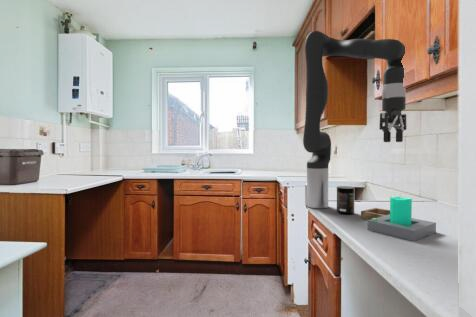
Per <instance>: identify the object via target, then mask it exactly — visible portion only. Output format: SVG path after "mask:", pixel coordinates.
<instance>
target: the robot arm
mask: <svg viewBox="0 0 476 317" xmlns="http://www.w3.org/2000/svg"><path fill="white" fill-rule="evenodd" d="M404 45H405V44H404V43H403V42H401V41H400V40H397V39H394V38H383V39H371V38H370V39H369V38H353V39H346V40H345V39H337V38H333V37H331V36H328V35H327V34H325V33H323V32H322V31H319V30H312V31H311V32H309V33H308V34H307V36H306V38H305V42H304V54H305V65H306V66H305V67H306V68H305V69H306V74H305V78H306V79H305V83H306V84H305V118H304V119H305V120H304V129H303V138H302V140H303V141H302V143H303V148H304V150H306V152H308V153H312V154H311V155H312V156H311V158H310V159H309V160H307V162H306V183H305V185H304V206H306V207H308V208H311V209H326V208H329V164H330V162H331V155H332V154H331V152H332V141H331V140H332V139H331V137H330V135H329V133H327V132H325V131H321V118H322V116H323V113H324V111H325V109H326V106H327V104H328V100H329V98H328V96H329V84H328V79H327V76H326V73H325V69H324V65H323V57H333V56H335V57H337V56H338V57H339V56H340V57H349V58H355V59H363V60H374V59H380V60H386V69H385V70H384V71H383V75H382V80H383V81H382V90H381V92H382V94H381V96H382V97H381V110H382V112H380V113H379V130H382V133H383V143H391V140H392V139H391V137H392V136H391V134H392V132H391V130H392V128H394V129H395V142H396V143H402V142H403V141H404V140H403V139H404V137H403V136H404V132H405V131H406V130H407V114H406V113H404V114H402V111H405V110H406V106H407V105H406V98H407V97H406V96H407V95H406V91H407V89H406V87H405V88H404V87H403V78H404V68H403V65H402V63H401V60H402V58H403V56H404V54H405V46H406V45H405V46H404Z"/></svg>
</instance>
